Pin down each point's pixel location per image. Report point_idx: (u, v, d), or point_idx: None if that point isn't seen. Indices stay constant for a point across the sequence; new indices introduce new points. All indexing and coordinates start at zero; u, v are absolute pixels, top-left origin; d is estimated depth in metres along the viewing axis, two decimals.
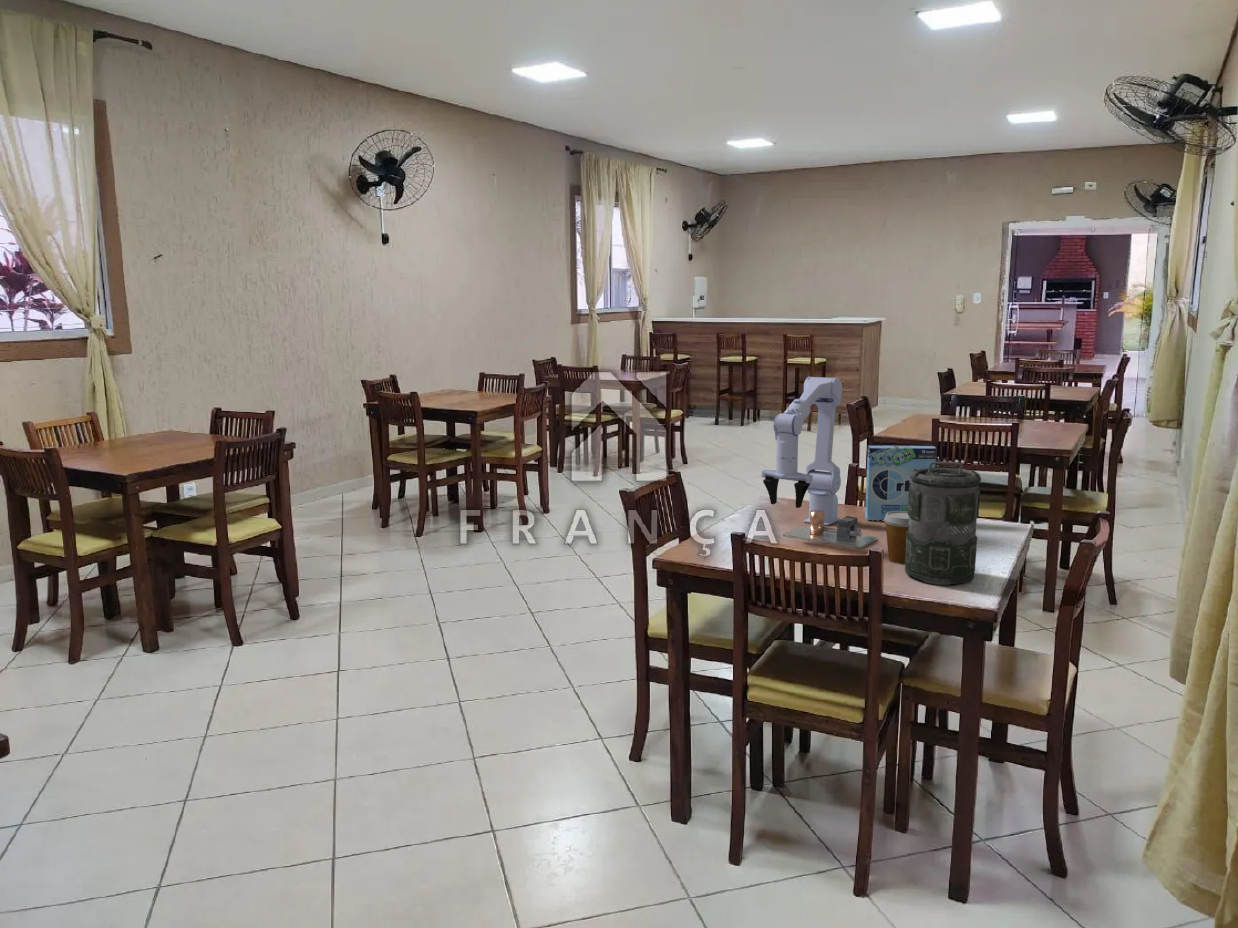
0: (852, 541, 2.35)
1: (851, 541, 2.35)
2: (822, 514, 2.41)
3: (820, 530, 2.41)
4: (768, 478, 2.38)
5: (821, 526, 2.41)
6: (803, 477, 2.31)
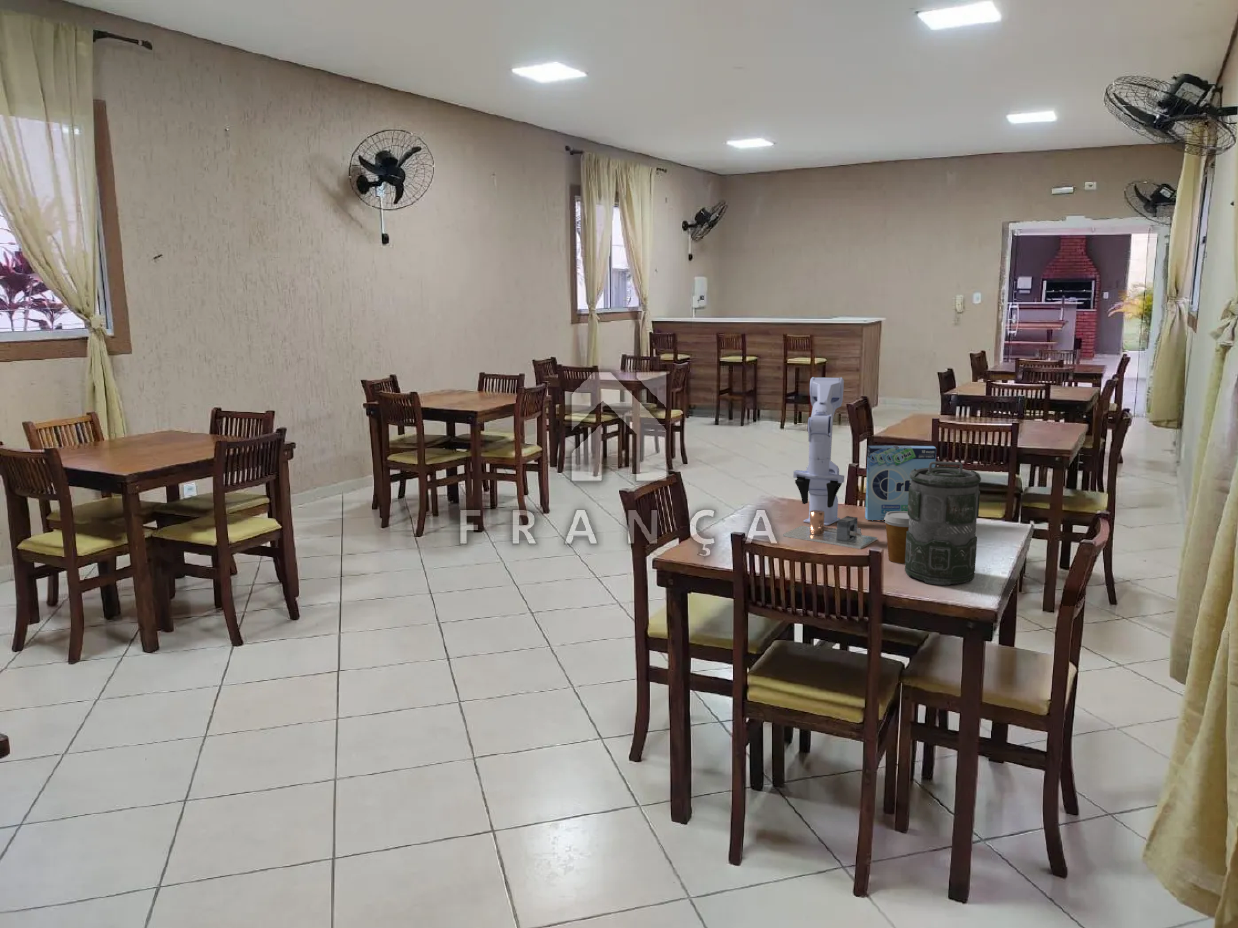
0: (852, 541, 2.35)
1: (851, 541, 2.35)
2: (822, 514, 2.41)
3: (820, 530, 2.41)
4: (800, 478, 2.43)
5: (821, 526, 2.41)
6: (835, 477, 2.36)
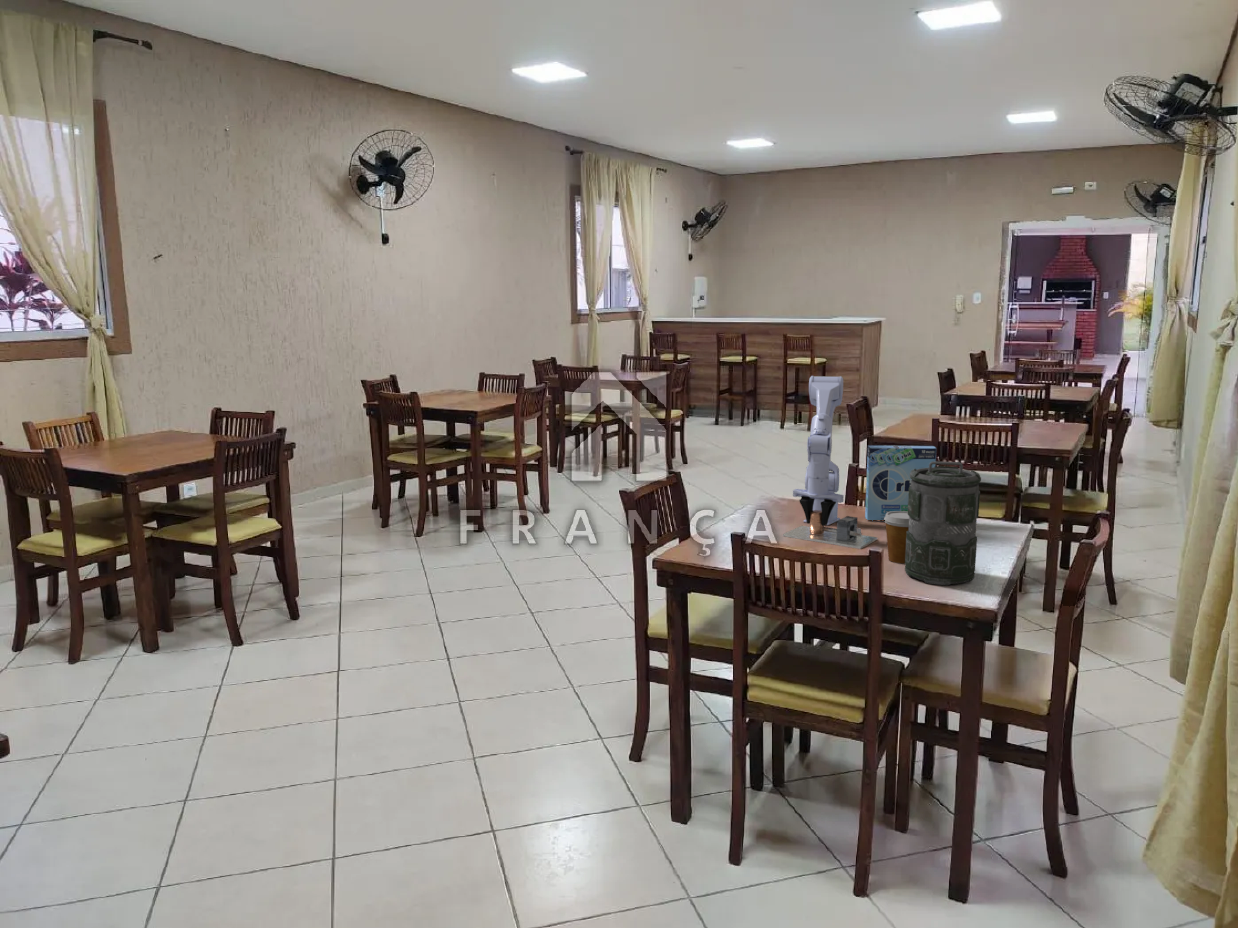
0: (852, 541, 2.35)
1: (851, 541, 2.35)
2: None
3: (820, 530, 2.41)
4: (804, 498, 2.43)
5: (821, 526, 2.41)
6: (834, 497, 2.37)
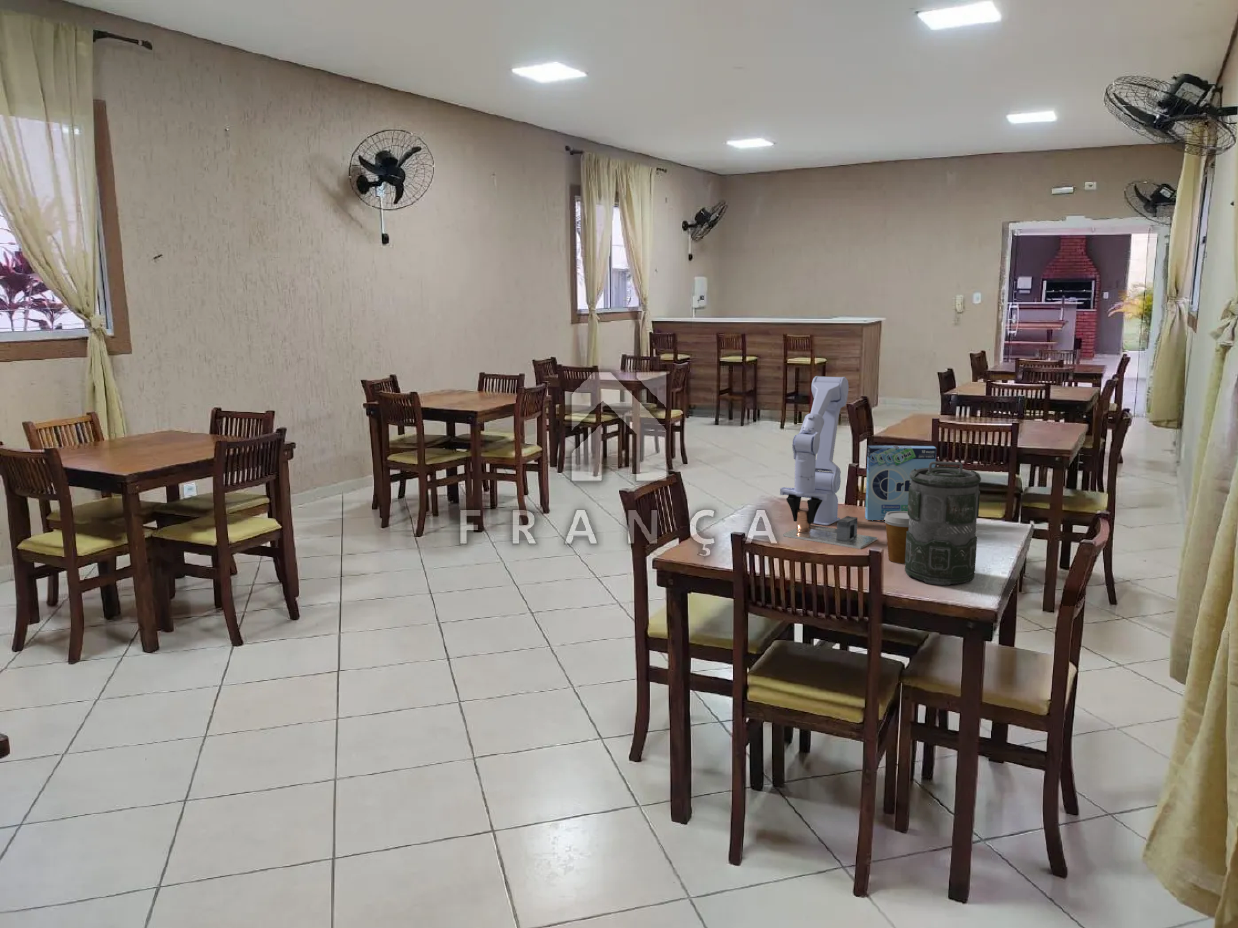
0: (852, 541, 2.35)
1: (851, 541, 2.35)
2: None
3: (807, 528, 2.44)
4: (791, 496, 2.46)
5: (808, 524, 2.44)
6: (821, 495, 2.40)
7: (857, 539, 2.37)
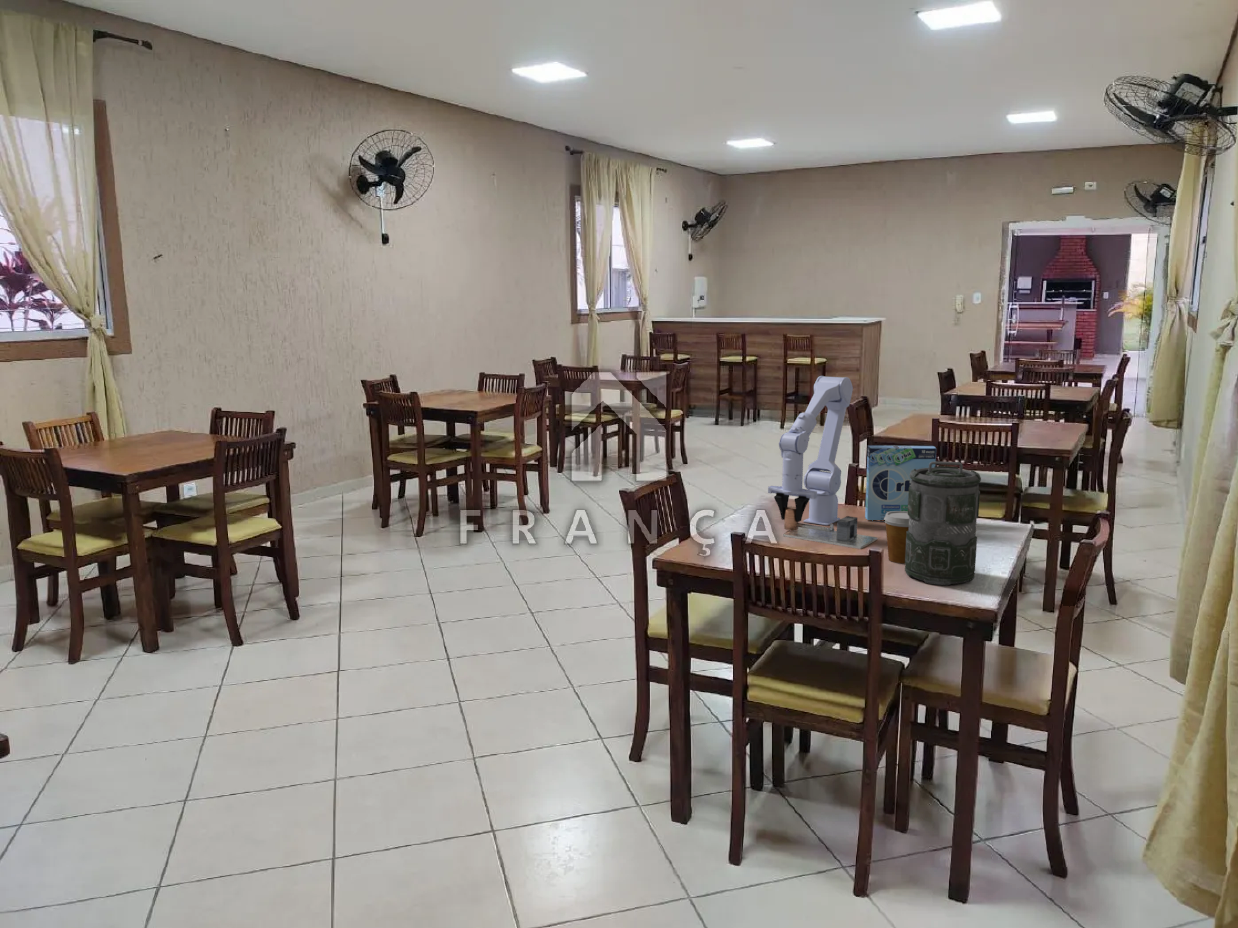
0: (852, 541, 2.35)
1: (851, 541, 2.35)
2: None
3: (794, 526, 2.46)
4: (779, 494, 2.48)
5: (795, 522, 2.46)
6: (808, 493, 2.42)
7: (857, 539, 2.37)
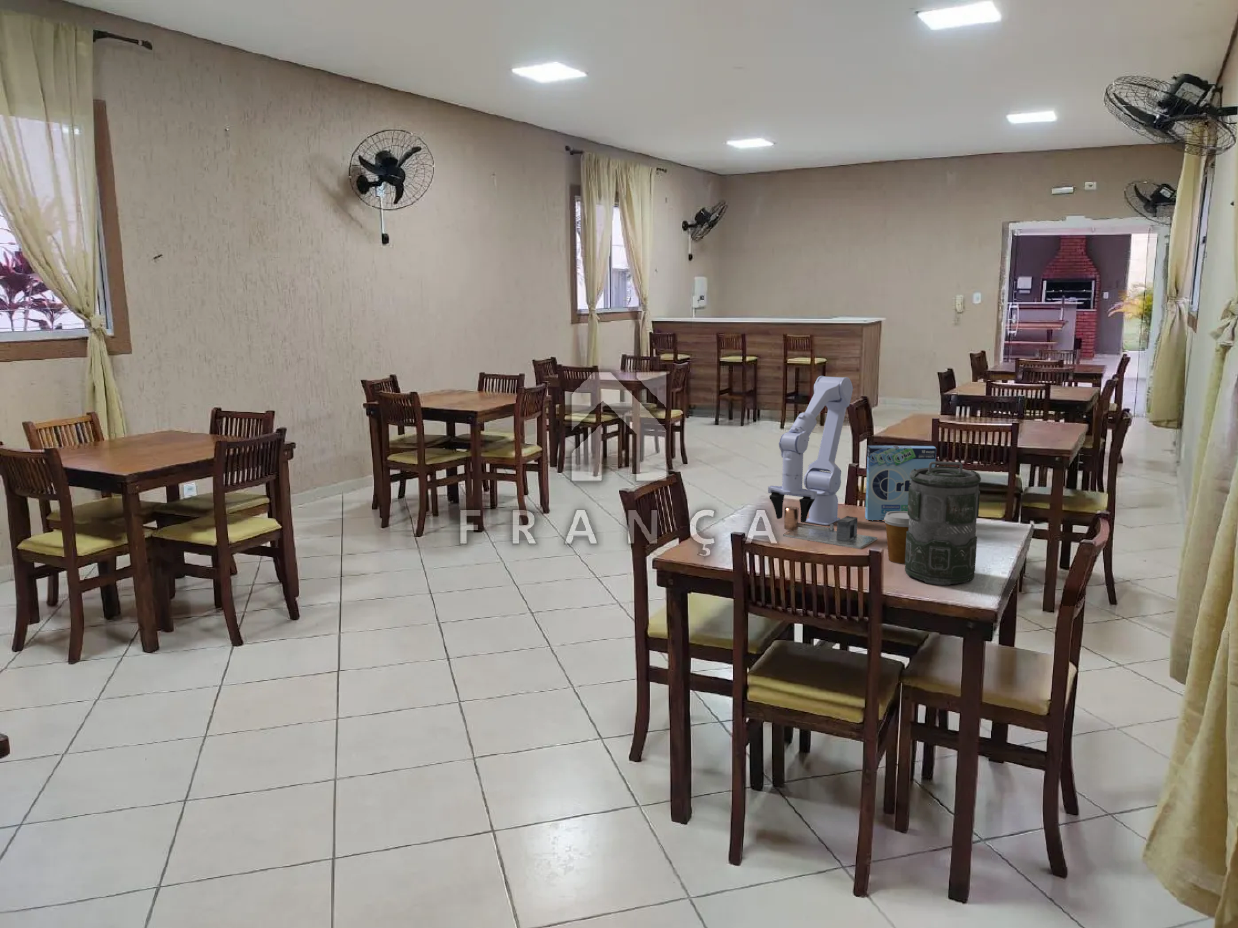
0: (852, 541, 2.35)
1: (851, 541, 2.35)
2: (796, 510, 2.46)
3: (794, 526, 2.46)
4: (774, 494, 2.49)
5: (795, 522, 2.46)
6: (808, 493, 2.42)
7: (857, 539, 2.37)
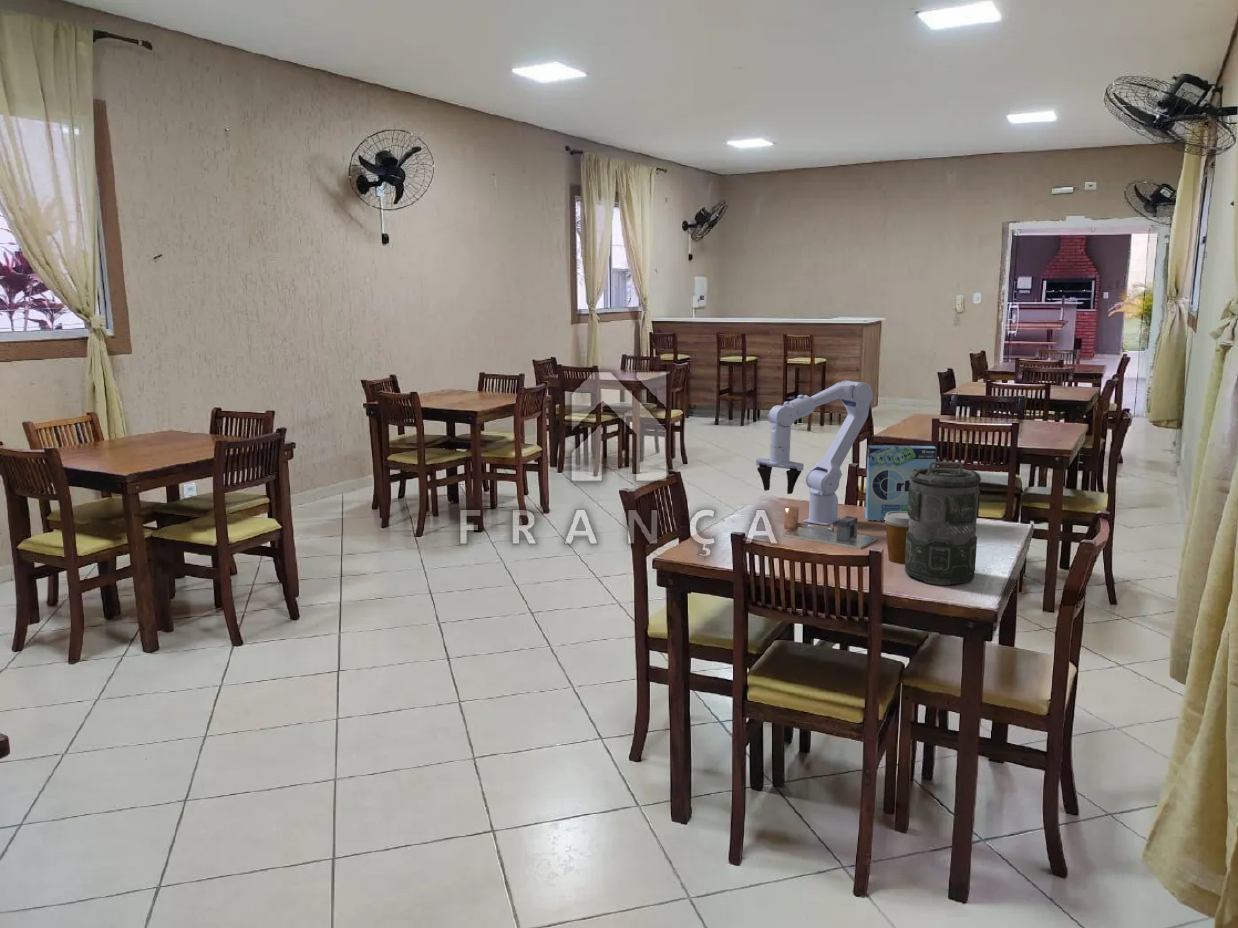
0: (852, 541, 2.35)
1: (851, 541, 2.35)
2: (796, 510, 2.46)
3: (794, 526, 2.46)
4: (762, 466, 2.54)
5: (795, 522, 2.46)
6: (795, 465, 2.47)
7: (857, 539, 2.37)
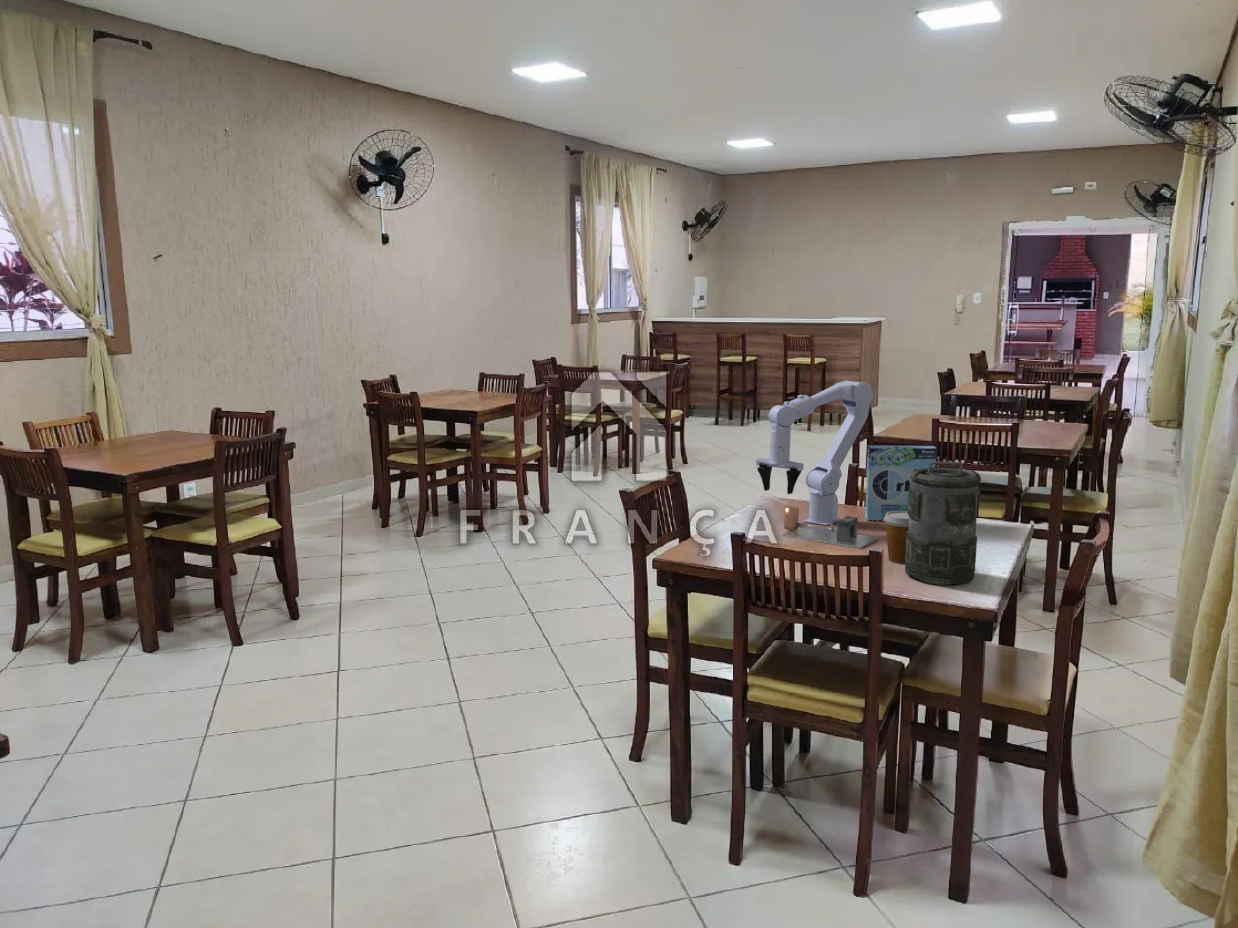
0: (852, 541, 2.35)
1: (851, 541, 2.35)
2: (796, 510, 2.46)
3: (794, 526, 2.46)
4: (762, 466, 2.54)
5: (795, 522, 2.46)
6: (795, 465, 2.47)
7: (857, 539, 2.37)
